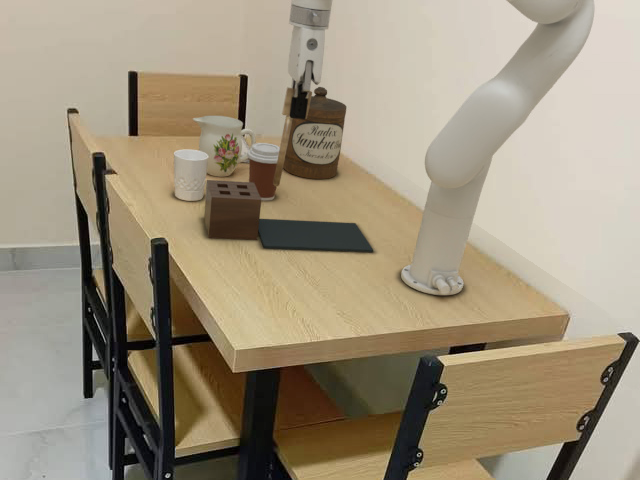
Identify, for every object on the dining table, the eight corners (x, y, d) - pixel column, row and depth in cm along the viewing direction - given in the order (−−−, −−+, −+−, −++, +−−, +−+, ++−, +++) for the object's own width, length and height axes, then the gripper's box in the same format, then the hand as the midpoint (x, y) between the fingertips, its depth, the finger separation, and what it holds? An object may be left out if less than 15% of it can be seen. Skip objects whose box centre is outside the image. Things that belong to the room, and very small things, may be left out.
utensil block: (257, 239, 158) (261, 199, 153) (208, 237, 156) (211, 197, 151) (250, 221, 166) (254, 182, 162) (203, 219, 164) (206, 179, 159)
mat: (373, 252, 159) (373, 250, 159) (264, 248, 154) (264, 245, 154) (354, 225, 172) (355, 223, 172) (253, 220, 167) (253, 218, 166)
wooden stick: (292, 189, 156) (312, 92, 146) (269, 186, 154) (288, 88, 144) (291, 187, 157) (311, 90, 147) (268, 184, 156) (286, 86, 145)
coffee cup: (287, 200, 181) (293, 151, 174) (256, 204, 176) (261, 154, 169) (266, 187, 187) (271, 140, 180) (235, 191, 182) (240, 142, 175)
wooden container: (290, 178, 195) (301, 92, 183) (277, 160, 207) (287, 78, 195) (343, 180, 199) (357, 96, 187) (327, 162, 211) (340, 82, 199)
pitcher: (261, 177, 193) (267, 124, 186) (198, 181, 185) (202, 125, 177) (242, 163, 201) (247, 112, 194) (181, 166, 192) (184, 113, 185)
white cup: (200, 204, 171) (202, 162, 166) (167, 198, 172) (169, 156, 167) (209, 194, 178) (212, 153, 173) (178, 188, 179) (180, 147, 173)
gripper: (338, 26, 133) (323, 129, 143) (319, 13, 146) (306, 108, 155) (298, 22, 131) (285, 126, 141) (282, 9, 144) (271, 105, 154)
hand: (296, 116), depth 148 cm, fingers closed on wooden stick, 1 cm apart
